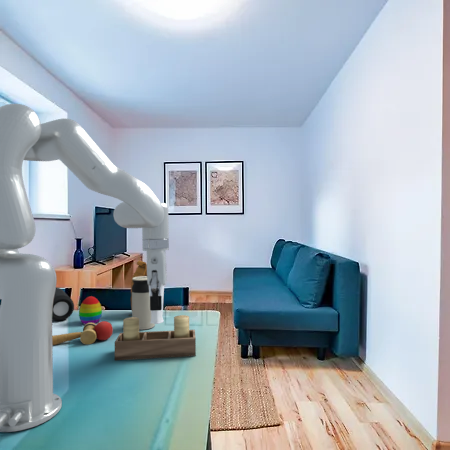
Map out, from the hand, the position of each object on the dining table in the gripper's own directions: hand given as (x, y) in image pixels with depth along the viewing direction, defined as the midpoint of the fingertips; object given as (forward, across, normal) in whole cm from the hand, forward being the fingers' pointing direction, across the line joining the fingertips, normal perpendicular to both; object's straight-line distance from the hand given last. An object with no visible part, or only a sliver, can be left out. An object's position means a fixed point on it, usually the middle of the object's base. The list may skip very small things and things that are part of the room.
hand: (156, 307), depth 99 cm
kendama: (+14, +13, +24) cm, 31 cm away
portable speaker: (+14, +49, +45) cm, 68 cm away
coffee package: (+14, +43, +9) cm, 46 cm away
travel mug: (+14, +26, +7) cm, 30 cm away
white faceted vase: (+5, 0, 0) cm, 5 cm away
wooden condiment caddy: (+13, 0, 0) cm, 13 cm away
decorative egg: (+14, +35, +28) cm, 47 cm away
